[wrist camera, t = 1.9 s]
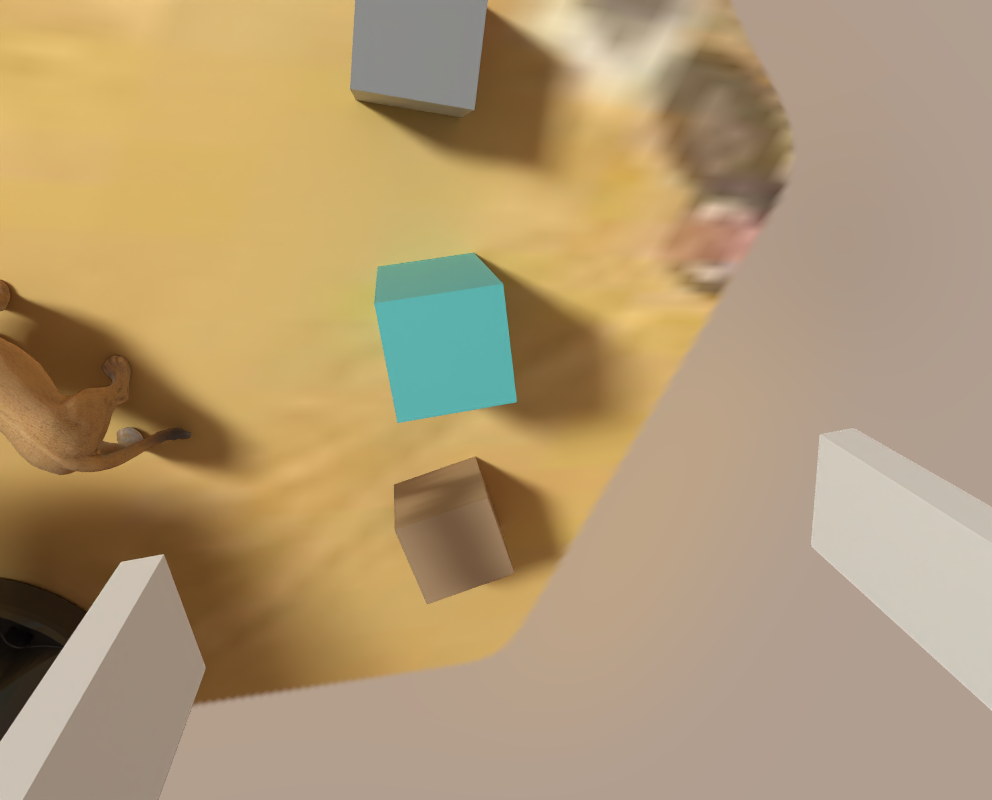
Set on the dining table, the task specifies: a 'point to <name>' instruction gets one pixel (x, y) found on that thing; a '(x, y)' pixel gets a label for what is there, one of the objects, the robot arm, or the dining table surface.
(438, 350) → the teal block
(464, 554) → the walnut block
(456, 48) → the grey block
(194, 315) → the dining table surface
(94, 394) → the lion figurine
